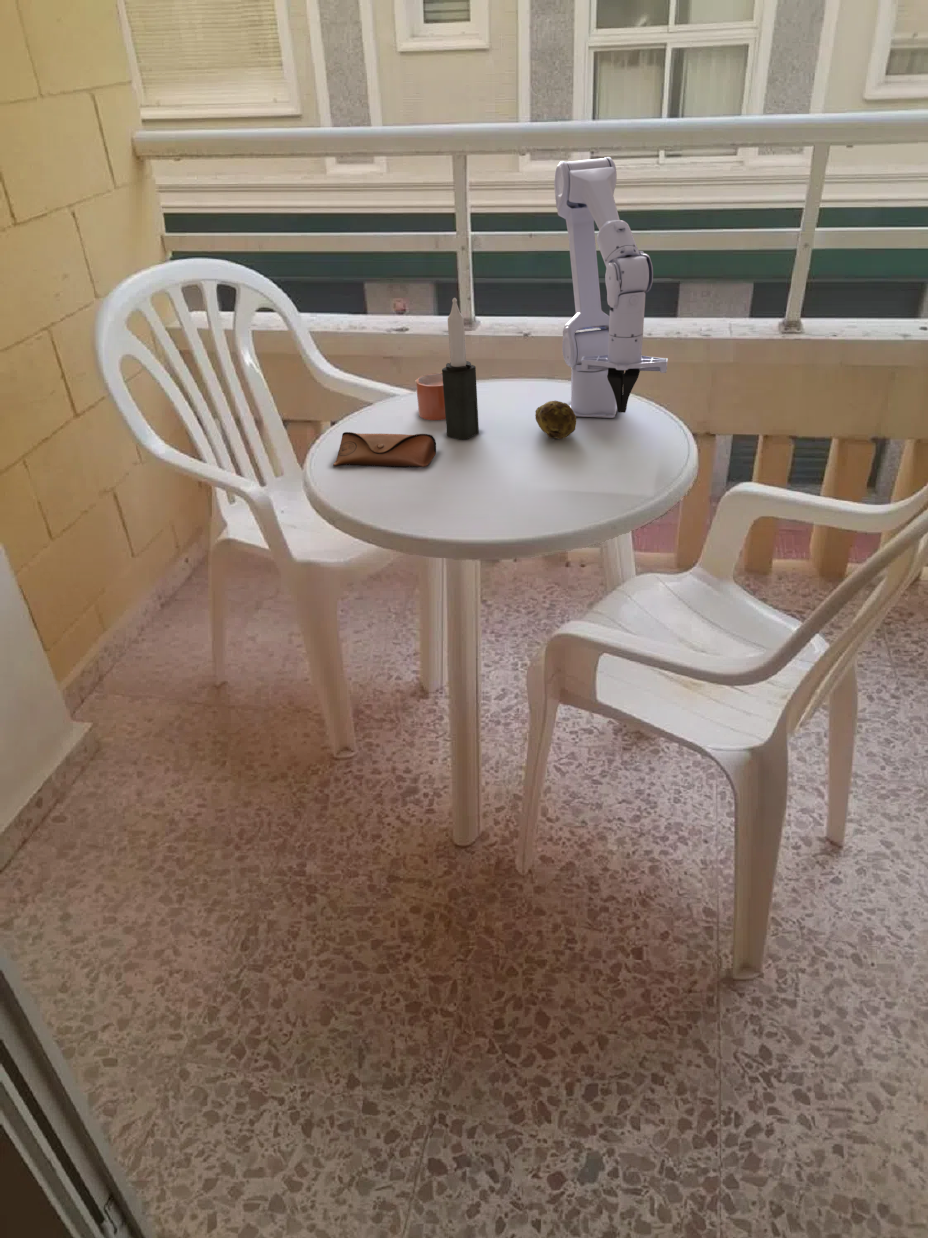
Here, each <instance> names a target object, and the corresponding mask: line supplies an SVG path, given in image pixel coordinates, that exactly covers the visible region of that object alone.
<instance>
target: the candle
mask: <svg viewBox="0 0 928 1238" xmlns="http://www.w3.org/2000/svg"><path fill="white" fill-rule="evenodd" d="M451 301H452V304H451V308H450V313H449V315H448V317H447V331H448V347H449V348H448V349H449V360H450V361H449V362H446V364H445V367H443V368H442V369H441V373H442V377H443V390H444V404H445V418H446V419H445V428H446V429H445V431H446V436H447V437H448V438H451V439H457V440H459V441H460V440H461V441H466V440H469V439H470V438H472V437H474V436H475V435H479V433H480V429H479V428H480V427H479V425H480V424H479V412H478V411H479V409H478V408H479V407H478V406H479V405H478V389H477V370H476V369H477V367H476V366H475V365H474V364H472V363H471V361H469V360H467V350H466V331H465V330H466V329H465V318H464V316H463V314H462V313H461V312H460V308H459V305H458V299H457V298H456V297H453V298H452V300H451Z"/></svg>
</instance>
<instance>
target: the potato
mask: <svg viewBox="0 0 928 1238" xmlns="http://www.w3.org/2000/svg"><path fill="white" fill-rule="evenodd" d="M535 421H536V423H537V425H538V427H539V429H540V430H541V431H542V432H543V433H544V434H546V435H547V437H548V438H549V439H557V440H558V439H559V440H563V439H566V438H567V437H569V436H570V435H571V434H573V433H574V432H575V430H576V427H577V416H575V414H574V412H573V410H572V408H571V407H570V404H568V403H567V402H562V401H558V400H549V401H546V402H545V403H544V404H542V405H540V406H538V407H537V408H536V410H535Z"/></svg>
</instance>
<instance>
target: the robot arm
mask: <svg viewBox="0 0 928 1238" xmlns="http://www.w3.org/2000/svg"><path fill="white" fill-rule="evenodd" d="M554 171H555V172H554V179H553V187H554V189H553V190H554V196H555V197H554V198H555V207H556V211H557V216H558V217H561V218H562V219H564V220H565V223H566V229H567V238H568V247H569V257H570V268H571V278H572V287H573V298H574V309H575V313H574V315H573V316H572V317H571V318H570V319H569V320H568V321H567V322H566V323H565V325H564V326H563V328H562V345H561V349H562V357H563V360H564V363H565V364H566V366H568V367H569V368H571V373H570V375H571V376H570V378H571V379H570V404H569V406H570V407H571V408H572V410H573V412H574V414H575V416H576V417H580V418H581V417H583V418H606V419H614V418H615V417H616V414H617V413H623V414H625V413H626V412H627V408H628V401H629V398H630V395H631V393H632V390H633V388H634V387H635V385H636V383H637V381H638V379H639V375H640V372H659V373H661V374H667V371H668V364H669V358H668V357H658V356H657V357H656V356H648V355H643V343H644V342H643V341H644V340H643V339H644V324H645V309H646V293H648V292H650V291H651V289H652V286H653V281H654V267H653V263H652V260H651V257H650V255H649V254H648V253H645V252H644V250H639V247H638V245H637V242H636V240H635V237H634V235H633V232H632V230H631V229H632V228H631V227H630V225H629V223H628V222H626V221H625V220H621V219H620V216H619V212H618V208H617V204H616V200H615V197H614V195H615V191H616V185H617V167H616V164H615V162H614V160H613V159H612V157H611V156H605V157H604V158H592V159H581V160H572V161H571V160H569V161H565V160H561V161H559V163H558V164H557V166H556V168H555V170H554ZM595 224H596V226H597V229H598V230H599V231H598V232H597V235H596V233H595ZM596 244H597V245H596ZM597 247H598V249H599V252H600V255H601V258H602V260H603V262H604V266H605V274H604V275H605V276H604V279H605V281H604V282H605V288H606V294H607V295H606V301H607V305H608V306H609V314H607V313H605V312H604V311H603V309H602V302H601V301H602V300H601V289H600V279H599V267H598V266H599V264H598V256H597V255H598V254H597ZM592 329H594V330H592ZM577 331H578V332H577Z"/></svg>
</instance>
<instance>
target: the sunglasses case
mask: <svg viewBox="0 0 928 1238" xmlns="http://www.w3.org/2000/svg"><path fill="white" fill-rule="evenodd" d="M341 434H342V435H341V440H340V444H339V449H338V452H337V457H336V460H335V462H334V463H333V464H332V465H333V466H334V467H342V466H343V467H346V466H349V467H351V466H353V467H354V466H355V467H376V468H377V467H378V468H392V469H393V468H394V469H395V468H396V469H399V468H402V469H403V468H405V469H406V468H407V469H408V468H425V467H428V466H429V465H430V464H431V463H432V461H433V460H434V459H435V457H436V455H437V442H436V439H435V437H434V435H432V434H429V433H416V434H415V433H414V434H406V433H405V434H402V433H401V434H400V433H359V432H352V431H345V432H343V433H341Z"/></svg>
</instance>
